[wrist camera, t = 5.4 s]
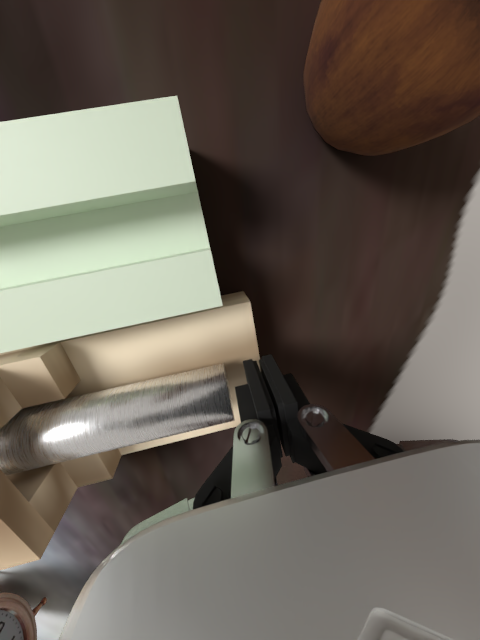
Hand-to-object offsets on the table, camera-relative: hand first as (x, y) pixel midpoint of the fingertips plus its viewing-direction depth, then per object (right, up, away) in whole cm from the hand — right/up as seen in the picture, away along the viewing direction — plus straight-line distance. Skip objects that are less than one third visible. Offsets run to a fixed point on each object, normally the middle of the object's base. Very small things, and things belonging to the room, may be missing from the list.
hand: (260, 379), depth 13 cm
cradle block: (-9, +8, 0) cm, 12 cm away
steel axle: (-10, -2, 0) cm, 10 cm away
